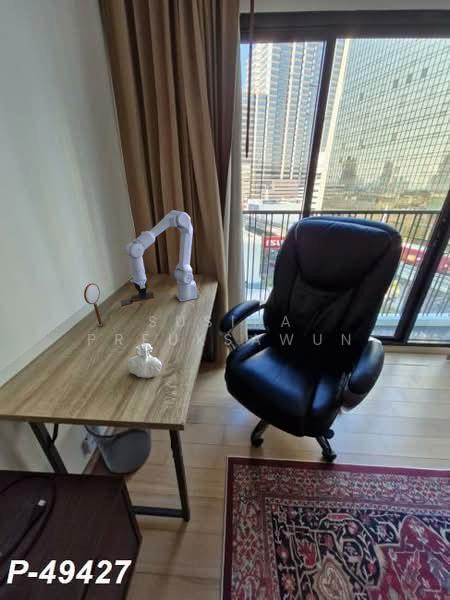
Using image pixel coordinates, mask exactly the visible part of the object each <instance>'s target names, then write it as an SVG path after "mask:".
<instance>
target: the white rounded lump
mask: <svg viewBox="0 0 450 600" xmlns="http://www.w3.org/2000/svg"><path fill="white" fill-rule="evenodd" d="M153 348H154V347H153V346H152V345H151V343H148V342H143V343H141V344H139V345H138V346H135V347H134V349H136V351H137V352H136V353H137V355H135V356H132V357H130V358H129V359H128V360H127V370H128V371H129V373H131V374H133V375H135V376H136V377H138V378H147V379H150V378H152V377H153V378H154V377H158V376H160V373H161V371H162V367H163V363H162V361H161V360H160V359H158V358H157V357H156V356H155V357H154V356H153V355H151V354H150V353H153V350H154V349H153Z"/></svg>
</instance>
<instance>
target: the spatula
mask: <svg viewBox="0 0 450 600" xmlns="http://www.w3.org/2000/svg"><path fill="white" fill-rule="evenodd" d="M151 299H155V295H154V291H153V290H146V298H142V299H141V297H140V295H139V292H137V293H133V294H130V297H129V298H125V299H122V300H120V305H121V307H125V306H130V305H133V304H134V303H137V302H142V301H147V300H151Z"/></svg>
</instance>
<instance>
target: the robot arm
mask: <svg viewBox="0 0 450 600" xmlns="http://www.w3.org/2000/svg"><path fill="white" fill-rule="evenodd" d="M191 219H192V218H191V217H190V215H189V214H188V213H187V212H184V211H178V210H175V209H173V210H171V211H169V212H168V213H166V214H165V216H164V217H163V218H161V220H160V221H159V222H158V223H156V224H155V226H154V227H152V228H151V229H150V230H144V231H141V232H140V235H139V236H138V237H136V239H133V240H132V241H131V242H128V243H127V244H126V247H125V249H124V251H125V253H126V254H127V255H128V260H129V261H128V262H129V266H130V272H131V276H132V279H130V281H129V282H130V283H133V285H134V288H135V289H136V290H137V293H139V295H140V297H141V299H142V298H146V292H147V289H148V288H149V287H148V286H149V284H148V283H147V279H148V278H147V276H146V269H145V263H144V259H143V255H144V252H145V251H146V250H147V249H148V248H149V247H150V246H151V245H152V244H154V243H156V237H158V236H159V235H160V234H162V233H163V232H164V231H165V230H167V229H168V228H172V227H174V228H177V229H178V230H179V231H180V242H179V244H180V245H179V257H178V263H177V264H176V266H175V270H174V272H173V276H174V278H175V279H176V283H177V284H176V285H177V294H176V297H177V299H178V300H179V302H186V301H191V300H195V299H198V294H197V293H198V291H197V284H196V281H195V280H194V275H193V268H192V267H191V255H192V246H193V245H192V244H193V242H192V241H193V233H194V228H193V225H192V222H191Z"/></svg>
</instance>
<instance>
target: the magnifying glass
mask: <svg viewBox="0 0 450 600" xmlns="http://www.w3.org/2000/svg"><path fill="white" fill-rule="evenodd" d="M100 295H101V291H100V288H99V286H98V285H97V284H96V283H89V284H87V285H86V287H85V288H84V291H83V299H84V301H85V303H87V304H88V305H93V308H94V311H95V314H96V318H97V322H98V324H99V326H100V327H101V326H102V325H103V321H102V317H101V313H100V311H99V307H98V304H97V303H98V301H99V299H100Z"/></svg>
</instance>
